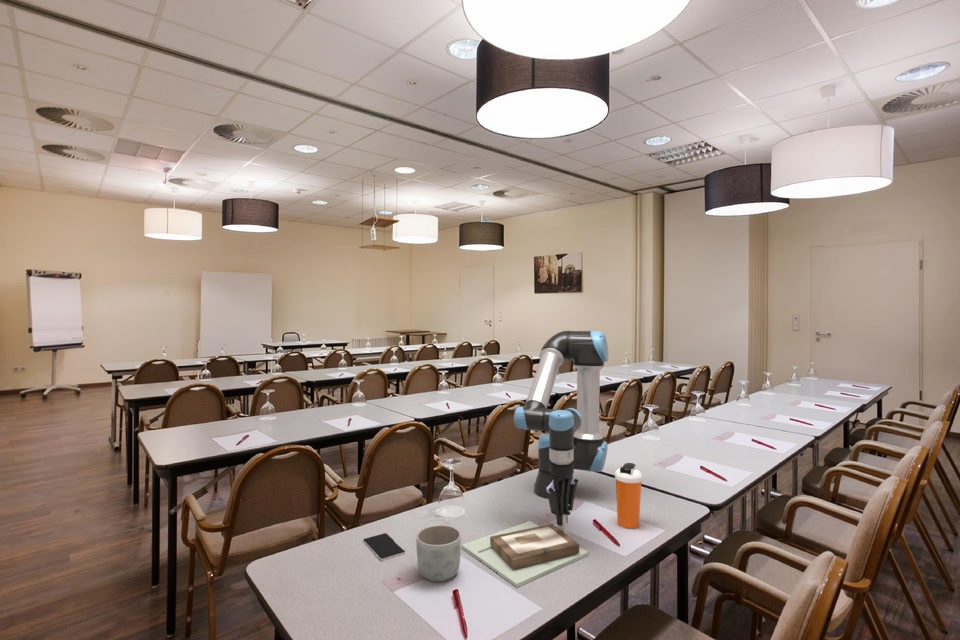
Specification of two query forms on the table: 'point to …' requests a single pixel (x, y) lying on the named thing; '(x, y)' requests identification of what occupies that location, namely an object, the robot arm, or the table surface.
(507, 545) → the frame
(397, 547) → the smartphone
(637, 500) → the shaker bottle
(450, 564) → the planter
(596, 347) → the robot arm
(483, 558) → the wall panel
